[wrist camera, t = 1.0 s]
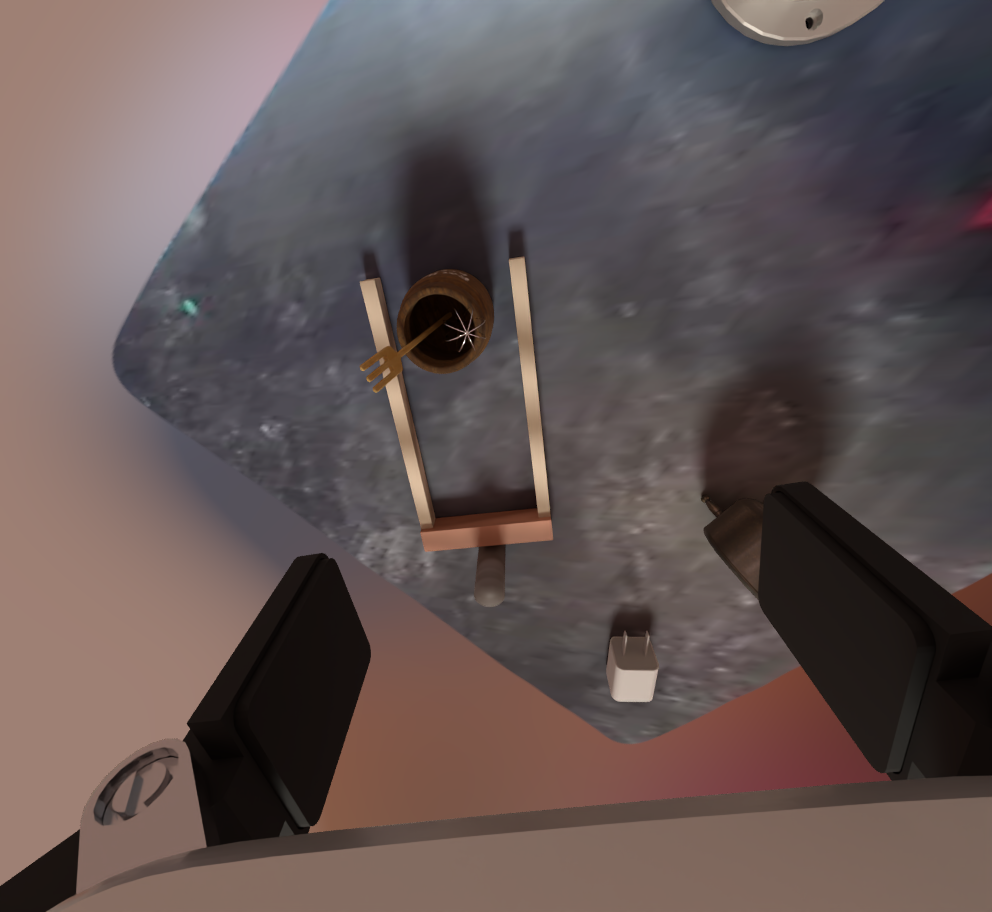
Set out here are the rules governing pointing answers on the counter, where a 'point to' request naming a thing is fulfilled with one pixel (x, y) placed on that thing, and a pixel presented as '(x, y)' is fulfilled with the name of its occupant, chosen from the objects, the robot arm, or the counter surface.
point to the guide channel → (435, 532)
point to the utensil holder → (439, 326)
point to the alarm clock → (738, 538)
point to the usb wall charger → (632, 668)
